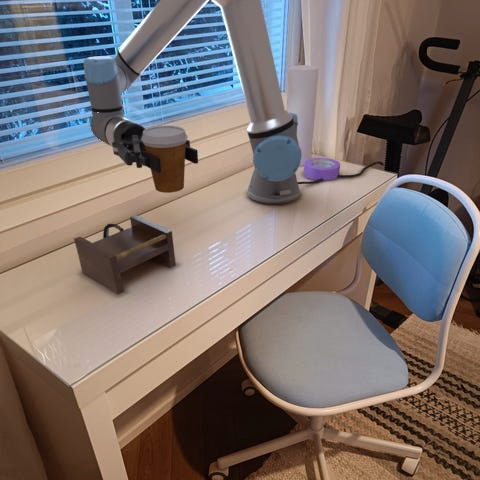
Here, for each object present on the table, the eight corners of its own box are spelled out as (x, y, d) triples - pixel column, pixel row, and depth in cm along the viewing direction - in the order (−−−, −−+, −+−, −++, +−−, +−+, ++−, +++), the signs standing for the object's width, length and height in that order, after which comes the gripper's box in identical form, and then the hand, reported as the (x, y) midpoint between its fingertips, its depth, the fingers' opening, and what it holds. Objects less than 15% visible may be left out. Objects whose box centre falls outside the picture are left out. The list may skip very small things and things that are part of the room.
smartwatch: (110, 239, 114) (106, 220, 110) (127, 242, 112) (124, 223, 109) (100, 246, 110) (96, 227, 107) (118, 249, 109) (115, 230, 106)
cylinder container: (309, 166, 156) (317, 68, 138) (282, 165, 158) (287, 67, 140) (311, 158, 163) (319, 63, 145) (285, 156, 165) (290, 63, 147)
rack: (140, 247, 110) (134, 214, 105) (175, 265, 103) (172, 231, 98) (82, 273, 100) (73, 238, 95) (117, 294, 93) (110, 258, 88)
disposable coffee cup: (149, 180, 104) (142, 125, 96) (191, 179, 104) (187, 124, 97) (146, 196, 96) (138, 138, 89) (191, 195, 97) (186, 136, 89)
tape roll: (345, 173, 150) (346, 161, 148) (327, 183, 143) (329, 171, 141) (314, 166, 156) (315, 155, 154) (296, 176, 149) (297, 164, 146)
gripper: (168, 145, 115) (220, 168, 100) (89, 162, 104) (134, 190, 90) (165, 113, 110) (219, 133, 96) (82, 128, 100) (128, 152, 86)
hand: (178, 161), depth 93 cm, fingers closed on disposable coffee cup, 8 cm apart
